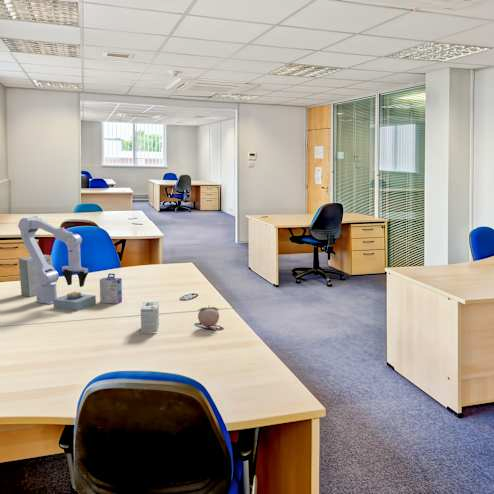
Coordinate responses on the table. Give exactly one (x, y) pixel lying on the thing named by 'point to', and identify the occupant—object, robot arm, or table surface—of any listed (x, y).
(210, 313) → the decorative fruit
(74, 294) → the two-tone metal cube
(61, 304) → the well block
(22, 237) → the robot arm
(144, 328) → the light bulb box
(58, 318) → the table surface
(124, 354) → the table surface
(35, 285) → the hard drive box
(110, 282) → the ink cartridge box
